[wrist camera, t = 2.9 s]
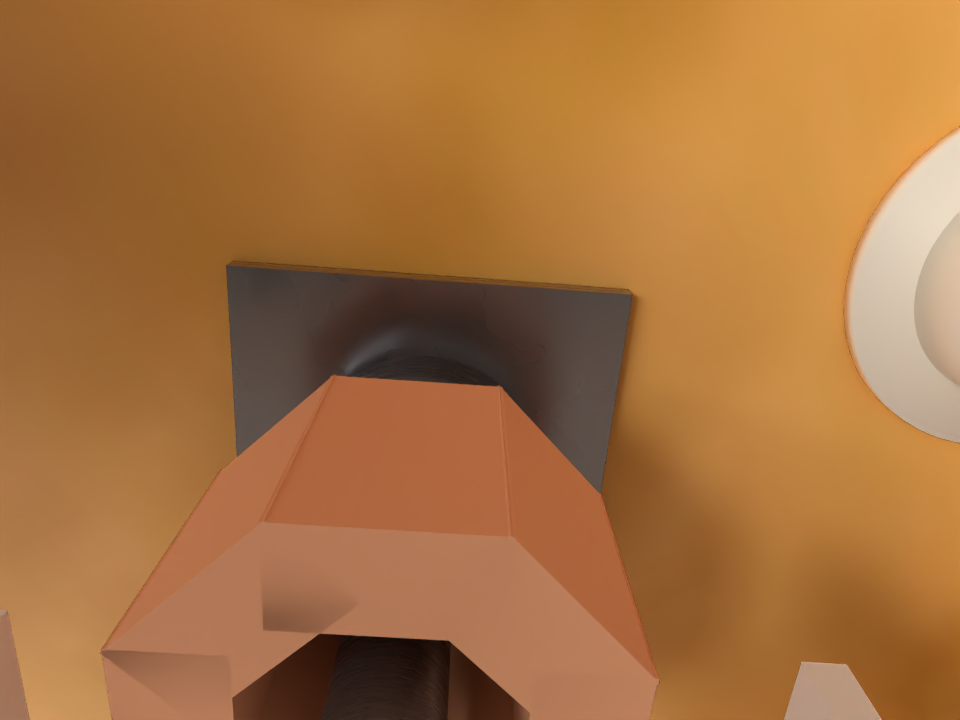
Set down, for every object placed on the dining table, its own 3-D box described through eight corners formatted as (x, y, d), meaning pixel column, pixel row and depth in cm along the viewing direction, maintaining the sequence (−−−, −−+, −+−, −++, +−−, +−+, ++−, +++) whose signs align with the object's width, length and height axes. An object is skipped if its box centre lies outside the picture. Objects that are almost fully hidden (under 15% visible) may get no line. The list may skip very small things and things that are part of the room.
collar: (233, 680, 17) (139, 910, 12) (211, 366, 14) (77, 509, 9) (569, 697, 17) (605, 929, 12) (618, 393, 14) (690, 546, 9)
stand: (250, 585, 21) (-78, 1312, 9) (233, 260, 18) (-377, 701, 5) (578, 604, 22) (724, 1331, 9) (628, 289, 18) (988, 767, 5)
